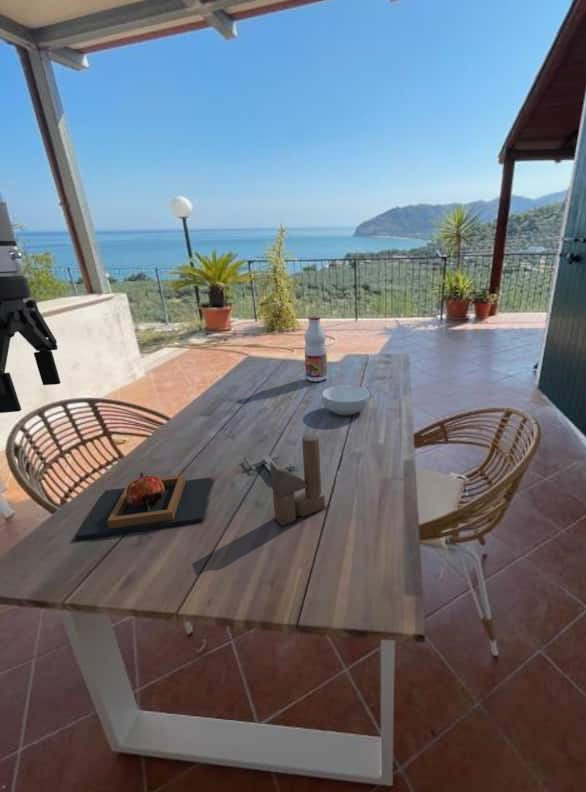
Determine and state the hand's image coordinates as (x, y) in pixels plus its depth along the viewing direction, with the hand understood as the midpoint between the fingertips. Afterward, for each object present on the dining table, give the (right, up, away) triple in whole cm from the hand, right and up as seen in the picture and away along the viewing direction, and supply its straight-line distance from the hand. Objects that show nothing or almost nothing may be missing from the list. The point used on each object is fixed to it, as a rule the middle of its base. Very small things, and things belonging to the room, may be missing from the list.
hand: (33, 396), depth 70 cm
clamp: (+35, -21, +34) cm, 53 cm away
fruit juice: (+40, +4, +103) cm, 110 cm away
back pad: (+11, -26, +19) cm, 34 cm away
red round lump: (+11, -25, +18) cm, 33 cm away
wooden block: (+46, -27, +17) cm, 56 cm away
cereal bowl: (+54, -8, +70) cm, 89 cm away
